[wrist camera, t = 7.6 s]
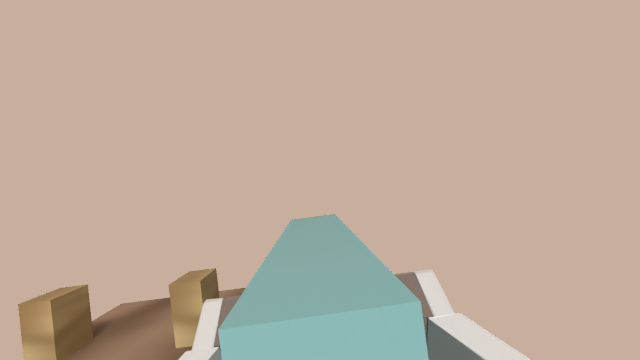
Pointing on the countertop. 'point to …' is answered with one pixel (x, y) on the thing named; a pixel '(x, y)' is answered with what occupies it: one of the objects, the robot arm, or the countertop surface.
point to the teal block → (323, 302)
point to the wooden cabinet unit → (117, 323)
